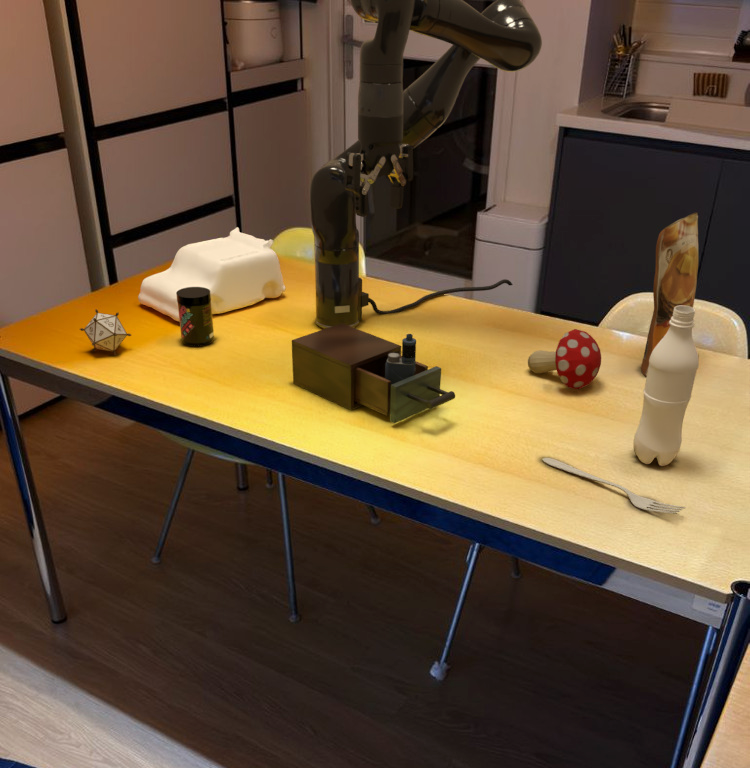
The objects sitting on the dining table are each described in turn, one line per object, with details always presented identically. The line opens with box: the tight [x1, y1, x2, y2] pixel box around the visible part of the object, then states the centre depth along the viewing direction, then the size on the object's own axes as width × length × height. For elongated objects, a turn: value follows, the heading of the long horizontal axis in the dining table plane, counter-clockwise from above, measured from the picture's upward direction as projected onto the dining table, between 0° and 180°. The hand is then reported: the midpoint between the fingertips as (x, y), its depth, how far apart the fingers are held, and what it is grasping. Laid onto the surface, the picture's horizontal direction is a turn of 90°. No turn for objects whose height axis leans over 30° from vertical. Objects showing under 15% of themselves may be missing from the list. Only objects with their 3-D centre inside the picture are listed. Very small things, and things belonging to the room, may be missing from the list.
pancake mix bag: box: [640, 211, 699, 377], centre depth 167 cm, size 7×19×28 cm, turn 136°
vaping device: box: [385, 333, 417, 385], centre depth 151 cm, size 3×5×12 cm, turn 79°
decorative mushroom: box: [527, 328, 602, 391], centre depth 165 cm, size 11×11×15 cm
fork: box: [542, 457, 686, 515], centre depth 133 cm, size 3×24×2 cm, turn 44°
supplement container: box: [176, 287, 215, 348], centre depth 178 cm, size 7×7×10 cm
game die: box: [79, 308, 132, 356], centre depth 174 cm, size 9×8×10 cm
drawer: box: [354, 354, 456, 424], centre depth 153 cm, size 20×11×7 cm, turn 45°
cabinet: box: [291, 323, 402, 411], centre depth 161 cm, size 16×13×9 cm
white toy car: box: [137, 226, 286, 323], centre depth 198 cm, size 19×30×13 cm, turn 133°
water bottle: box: [633, 306, 700, 467], centre depth 135 cm, size 7×7×25 cm
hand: (379, 211), depth 153 cm, fingers open, 8 cm apart
